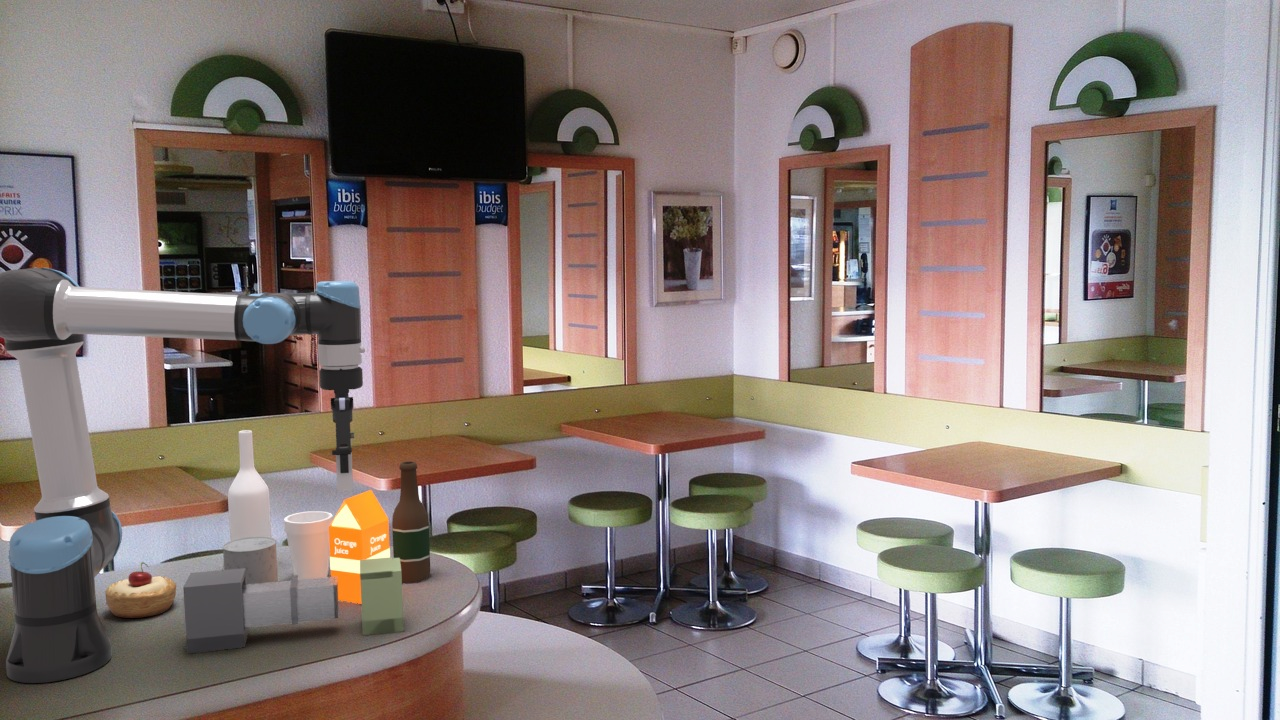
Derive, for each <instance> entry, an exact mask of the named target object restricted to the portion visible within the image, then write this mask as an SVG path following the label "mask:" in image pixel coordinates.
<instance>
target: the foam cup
mask: <svg viewBox="0 0 1280 720" xmlns="http://www.w3.org/2000/svg"><path fill="white" fill-rule="evenodd" d="M333 516H334V515H333V514H332V513H331V512H328V511H323V510H322V511H321V510H311V511H301V512H296V513H292V514H288V515H286V517H284V518H283V527H284V532H285V534H286V539H287V544H288V551H289V555H290V560H291V566H292V571H293V575H298V580H302V579H313V578H324V577H328V575H329V569H330V566H329V565H330V543H329V526H330V524H331V523H332V521H333V519H334V517H333Z"/></svg>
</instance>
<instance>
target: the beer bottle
mask: <svg viewBox="0 0 1280 720" xmlns="http://www.w3.org/2000/svg"><path fill="white" fill-rule="evenodd" d="M417 464H418V463H417V462H416V461H412V460H407V461H406V460H405V461H403V462H400V463H399V466H398V467H399V470H400V495H399V500H398V503H397V505H396V506H395V508H394V510H393V513H392V521H391V522H392V523H391V525H392V551H393V552H392V553H393V556H392V558H400V564H401V574H402V584H403V583H404V584H413V583H421V582H423V581H425V580H428V579H430V578H431V552H430V551H431V550H430V549H431V548H430V547H431V546H430V544H431V543H430V524H429V523H430V522H429V515H428V512H427V510H426V506H424V504H423V503H422V501H421V500H420V496H419V487H418V477H417V469H418V465H417Z"/></svg>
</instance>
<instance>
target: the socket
mask: <svg viewBox="0 0 1280 720" xmlns="http://www.w3.org/2000/svg"><path fill="white" fill-rule="evenodd" d="M360 583H361V604H360V605H361V622H362V623H361V625H362V636H369V635H370V634H372V635H378V634H379V635H380V634H381V635H382V634H389V633H390V634H391V633H398V632H399V633H400V632H404V631H405V629H404V605H403V602H404V600H403V582H402V574H401V564H400V558H394V557H392V556H390V557H389V558H377V559H365V560H360ZM370 636H371V635H370Z"/></svg>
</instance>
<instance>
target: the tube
mask: <svg viewBox="0 0 1280 720" xmlns="http://www.w3.org/2000/svg"><path fill="white" fill-rule="evenodd" d="M181 601H182V611H183V613H182V614H183V628H184V629H183V630H184V631H183V632H184V634H185V635H186V623H185V607H184V596H183V597H182V600H181ZM242 602H243V620H244V628H246V627H249V628H255V627H263V626H265V627H266V626H276V625H286V624H291V625H293V626H295V625H299V623H304V622H305V623H307V622H313V621H314V622H315V621H325V620H334V619H339V615H340V612H339V611H340V605H339V602H340V601H338V579H337V576H336V577H331V576H327V577H324V578H313V579H302V580H298V575H294V574H292V576H291V580H282V581H281V580H280V581H278V582H269V583H258V584H246V585H242Z"/></svg>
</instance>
